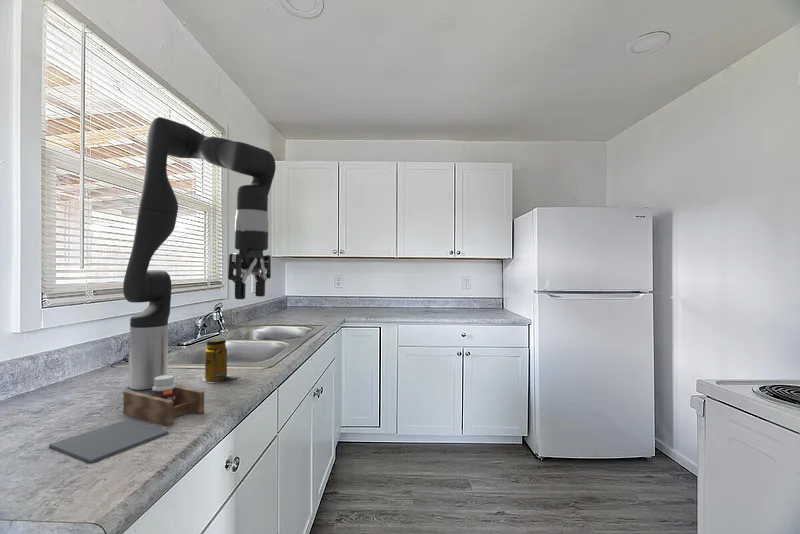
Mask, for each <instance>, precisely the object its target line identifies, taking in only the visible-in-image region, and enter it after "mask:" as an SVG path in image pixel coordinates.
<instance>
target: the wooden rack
mask: <svg viewBox="0 0 800 534" xmlns="http://www.w3.org/2000/svg"><path fill="white" fill-rule="evenodd" d="M175 386H176V400H175V401H176V402H175V406H173V401H172V400H168V399H163V398H159V397H155V396H152V395H150V394H145V393H141V392H136V391H132V390H126V391H123V397H122V398H123V406H122V407H123V412H122V413H123V414H124V415H127V416H131V417H135V418H138V419H141V420H145V421H148V422H149V421H150V422H153V423H156V424H161V425H164V426H166V427H167V426H171V425H173V424H174V418H175V417H178V416H182V415H184V414H187V413H193V414H197V415H201V414H204V413H205V391H204V390H201V389H197V388H196V389H195V388H190V387H186V386H179V385H177V384H176V385H175Z"/></svg>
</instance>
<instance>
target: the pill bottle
mask: <svg viewBox="0 0 800 534" xmlns="http://www.w3.org/2000/svg"><path fill="white" fill-rule="evenodd" d="M154 385H155V386H154V387H153V388H152V389H151V394H152V395H151V396H155V397H159V398H163V399H168V400H172V401H173V406H175V402H176V401H175V400H176V386H177V385H176V386H175V376H174V375H172V374H169V375H168V374H167V375H163V376H158V377H155V378H154Z"/></svg>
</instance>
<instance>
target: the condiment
mask: <svg viewBox="0 0 800 534" xmlns="http://www.w3.org/2000/svg"><path fill="white" fill-rule="evenodd" d="M226 342H227V341H226V340H225V339H222V338H217V339H216V338H215V339H210V340H207V341H206V349H205V353H204V356H205V357H204V358H205V359H204V361H205V362H204V365H205V366H204V373H205V374H204V377H205V378H200V379H199V380H200V381H203V382H206V383H209V384H210V385H211V384H218V383H222V382H225V381H229V380H234V379H237V378H238V376H234V375H231V374H228V349H227V348H226V346H227V345H226Z"/></svg>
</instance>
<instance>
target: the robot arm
mask: <svg viewBox="0 0 800 534" xmlns="http://www.w3.org/2000/svg"><path fill="white" fill-rule="evenodd" d="M147 131H148V132H147V138H146V139H147V140H146V155H145V156H146V157H145V165H144V166H145V168H144V176H143V177H144V178H143V184H142V190H141V196H140V201H139V206H138V210H137V218H136V226H135V231H134V237H133V243H132V248H131V253H130V256H129V259H128V263H127V266H126V271H125V274H124V279H123V286H122V288H123V289H122V292H123V295H124V299H125V300H126V301H127V302H129V303H134V304H135V303H148V306H147V307H146V308H145V309H144V310H142V311H140V312H138V313H136V314H134V315H132V316H131V317H130V320H129V325H130V326H129V329H130V330H129V332H130V333H129V335H130V336H129V353H128V381H127V382H128V387H129V389H131V390H137V391H139V390H149V389H151V390H152V388H153V387H154V386H155V385H154V378H155V377H158V376H163V375H168V369H169V368H168V362H169V361H168V360H169V358H168V356H169V355H168V353H169V352H168V350H169V347H168V346H169V344H168V343H169V334H168V333H169V318H170V316H171V315H170V314H171V301H172V280H171V279H172V278H171V275H170V274H169V273H168V271H166V270H164V269H148V268H149V266H150V263H151V259H152V258H153V255H154V254H155V253H156V252H157V250H158V249H159V248H160V247H161V246H162V245H163V244H164V243H165V242H166V240H167V239H169V237H170V236H171V235H172V233H173V232H174V230H175V227H176V222H177V217H178V211H179V204H178V200H177V196H176V194H175V192H174V189H173V187H172V185H171V182H170V180H169V178H168V171H167V170H168V169H167V166H168V165H167V162H168V160H167V159H168V157H169V156H170V157H175V158H177V159H195V160H196V159H200V160H204V161H205V162H207V163H209V164H211V165H213V166H216V167H220V168H223V169H226V170H230V171H233V172H236V173H238V174H242V175H245V176H249V177H251V182H250V184H245V185H244V184H243V185H241V186H239V187H238V188H237V190H236V191H237V193H236V210H235V211H236V213H235V219H234V249H235V250H238V252H237V253H230V254H229V256H228V257H229V258H228V273H227V275H228V276H227V279H228V280H229V281H232V282H233V283H234V299H235V300H245V299H246V288H247V287H246V284H247V283H246V280H247V279H248V277H249V276H250V275H251V274H252V275H253V276H254V279H255V296H256V297H260V298H261V297H265V296H266V282H267V281H268V279H269V280H270V279H271V278H272V272H271V271H272V267H271V265H272V264H271V263H272V262H271V261H272V258H271V255H270V254H264V251H267V250H268V248H269V210H268V207H269V193H270V191H271V187H272V183H273V181H274V177H275V173H276V170H277V169H276V168H277V167H276V166H277V165H276V161H275V157H274V155H273V154H272V152H270V151H268V150H267V149H263V148H260V147H258V146H255V145H252V144H248V143H245V142H241V141H234V140H231V139H227V138H223V137H218V136H207V135H204V134H202V133H200V132H199V131H197V130H195V129H193V128H192V127H190V126H188V125H187V124H183V123H180V122H177V121H174V120H171V119H169V118H166V117H161V116H160V117H159V116H158V117H156V118H154V119H153V120H152V122H151V123H150V125H149V128H148V130H147ZM234 272H235V274H234Z"/></svg>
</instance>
